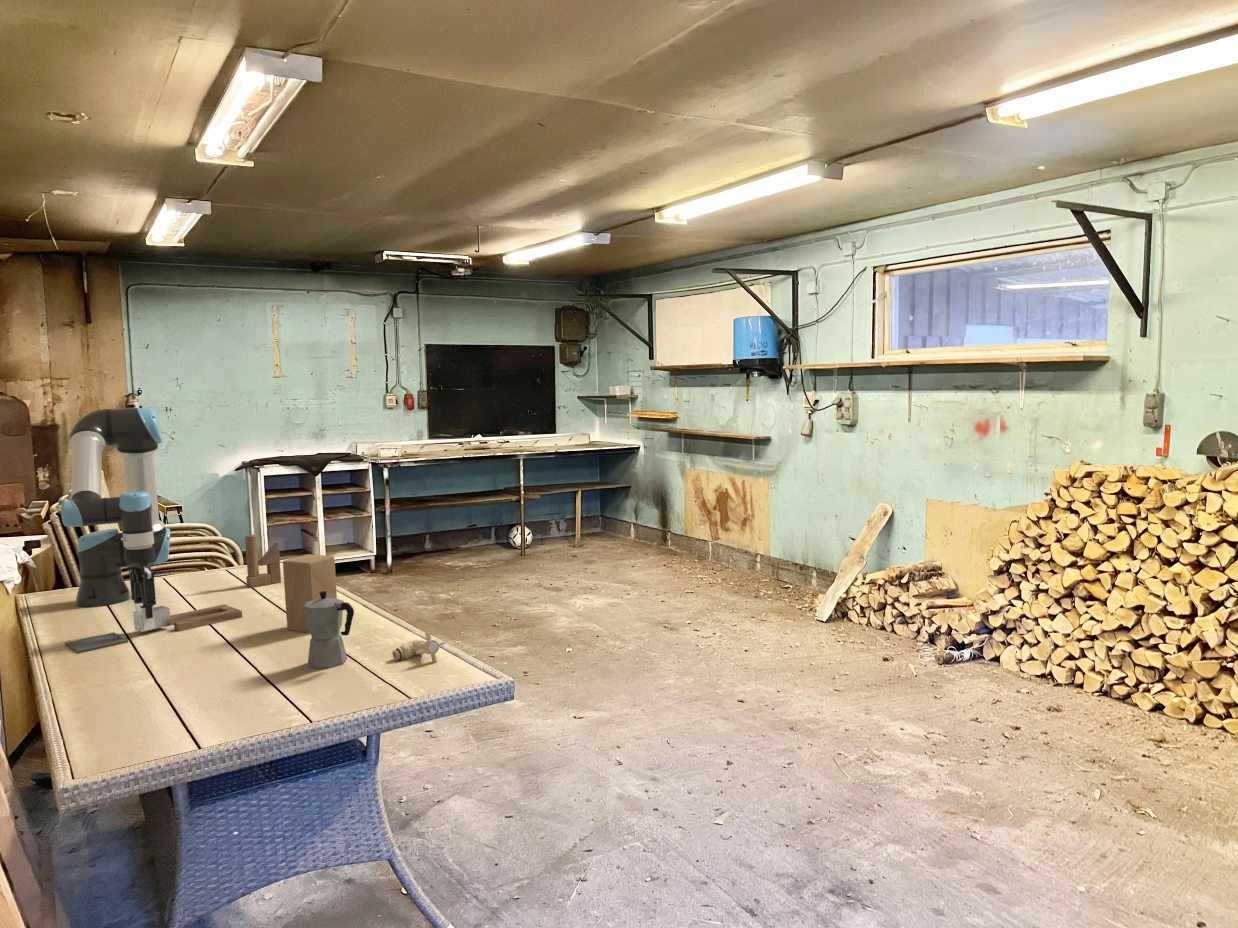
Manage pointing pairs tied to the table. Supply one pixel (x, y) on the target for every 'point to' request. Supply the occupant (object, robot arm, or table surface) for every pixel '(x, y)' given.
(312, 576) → the wooden block
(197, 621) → the slot board
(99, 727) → the table surface
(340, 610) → the coffeepot
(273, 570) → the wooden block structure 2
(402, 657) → the valve
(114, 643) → the rubber mat
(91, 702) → the table surface
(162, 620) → the aluminium block
